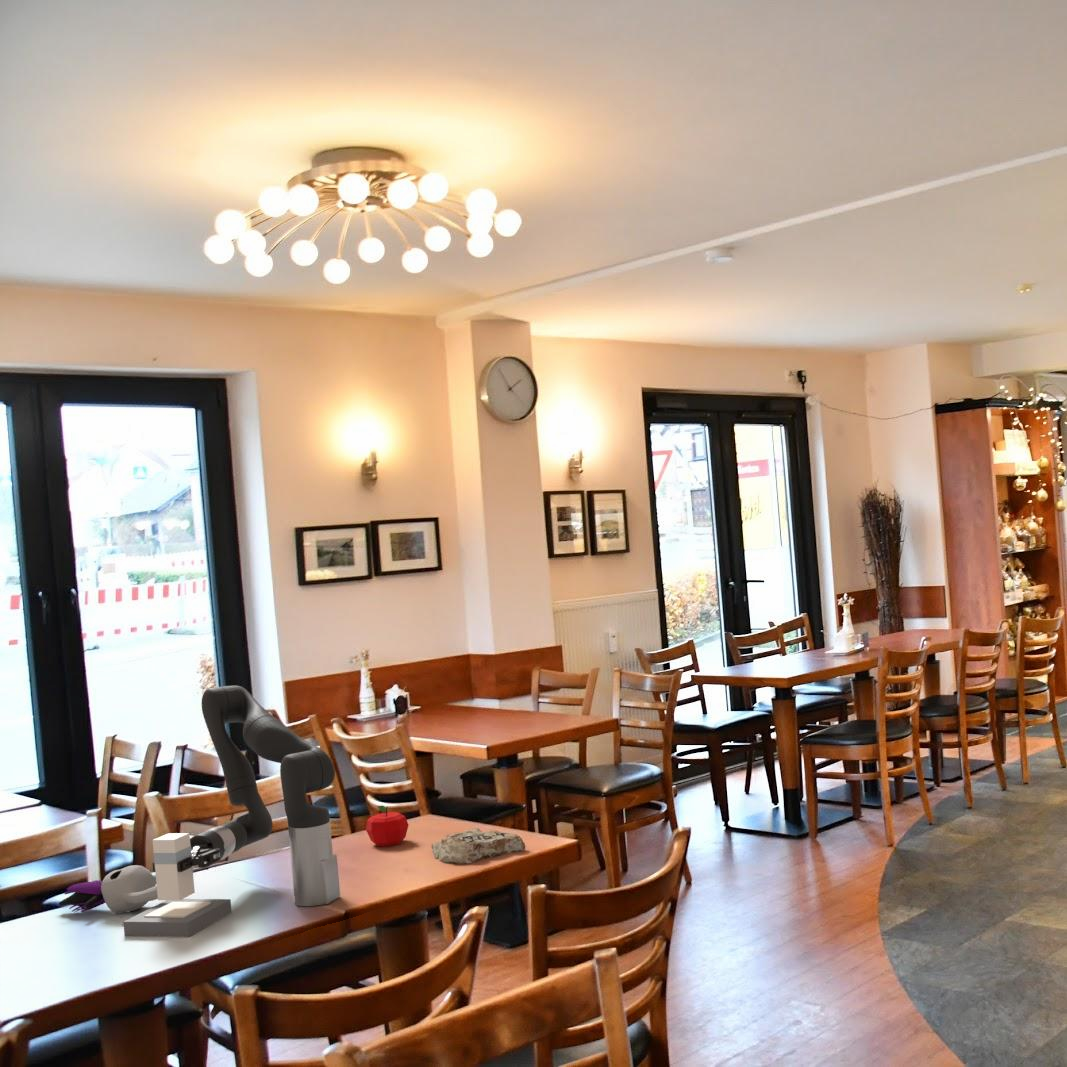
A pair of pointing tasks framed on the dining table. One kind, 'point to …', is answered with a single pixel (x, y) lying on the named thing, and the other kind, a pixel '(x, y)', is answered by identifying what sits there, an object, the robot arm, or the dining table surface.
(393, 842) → the apple
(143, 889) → the figurine
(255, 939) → the dining table surface
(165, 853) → the carton
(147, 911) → the podium
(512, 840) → the stone
